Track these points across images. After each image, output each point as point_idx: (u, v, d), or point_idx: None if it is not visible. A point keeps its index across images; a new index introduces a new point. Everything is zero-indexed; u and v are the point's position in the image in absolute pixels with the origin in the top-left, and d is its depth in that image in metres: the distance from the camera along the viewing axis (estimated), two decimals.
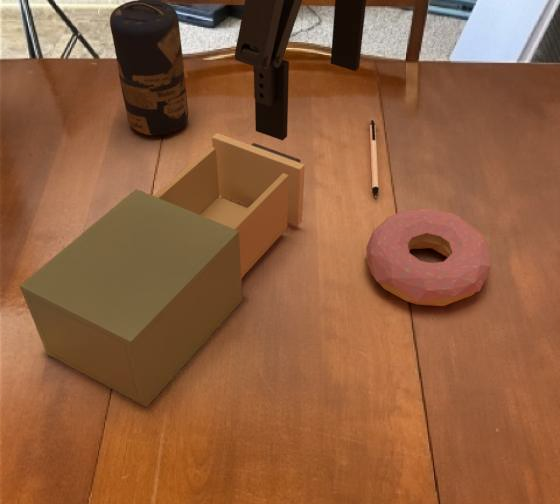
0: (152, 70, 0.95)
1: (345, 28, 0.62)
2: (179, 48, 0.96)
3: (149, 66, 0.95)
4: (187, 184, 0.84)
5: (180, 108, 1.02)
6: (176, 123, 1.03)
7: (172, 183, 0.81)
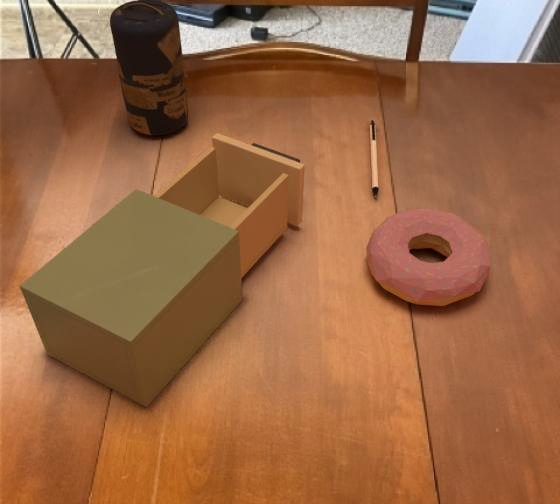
0: (152, 70, 0.95)
1: None
2: (179, 48, 0.96)
3: (149, 66, 0.95)
4: (187, 184, 0.84)
5: (180, 108, 1.02)
6: (176, 123, 1.03)
7: (172, 183, 0.81)
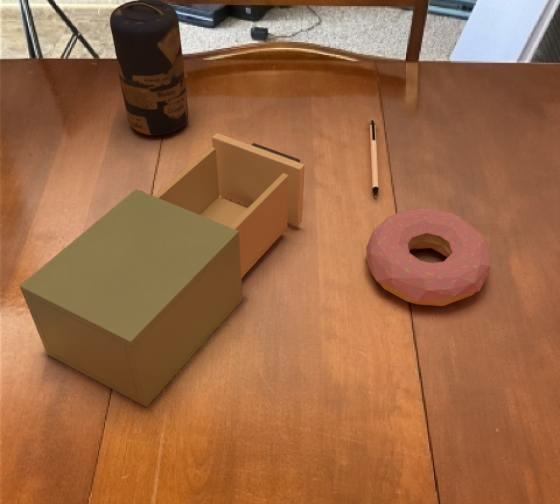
0: (152, 70, 0.95)
1: None
2: (179, 48, 0.96)
3: (149, 66, 0.95)
4: (187, 184, 0.84)
5: (180, 108, 1.02)
6: (176, 123, 1.03)
7: (172, 183, 0.81)
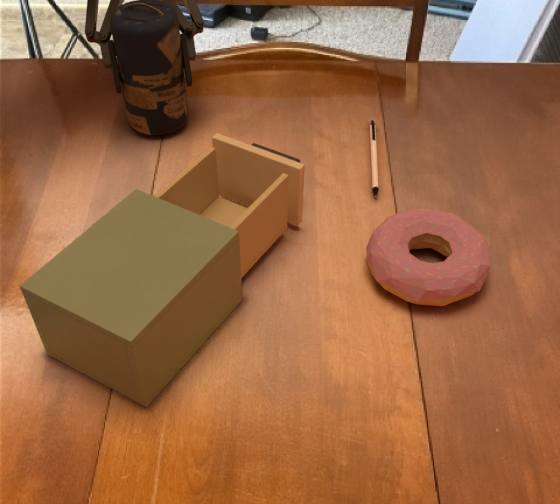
0: (152, 70, 0.95)
1: None
2: (179, 48, 0.96)
3: (149, 66, 0.95)
4: (187, 184, 0.84)
5: (180, 108, 1.02)
6: (176, 123, 1.03)
7: (172, 183, 0.81)
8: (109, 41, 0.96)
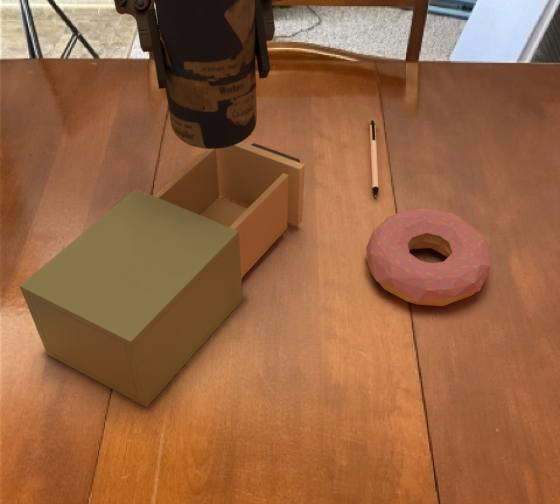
0: (213, 54, 0.64)
1: None
2: (253, 21, 0.65)
3: (210, 48, 0.63)
4: (187, 184, 0.84)
5: (249, 110, 0.71)
6: (242, 131, 0.72)
7: (172, 183, 0.81)
8: (150, 11, 0.65)
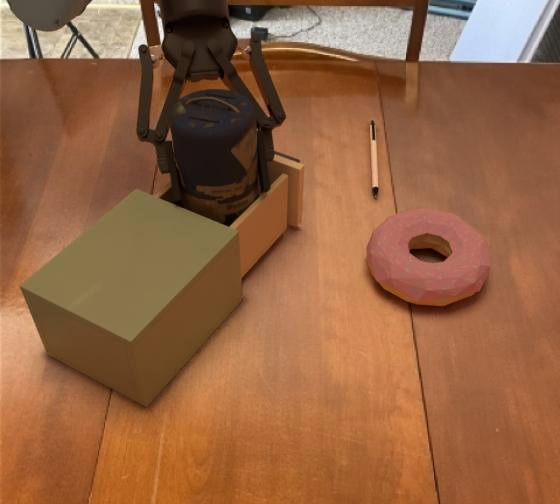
0: (222, 180, 0.75)
1: None
2: (256, 150, 0.76)
3: (219, 176, 0.74)
4: None
5: None
6: None
7: None
8: (167, 142, 0.75)
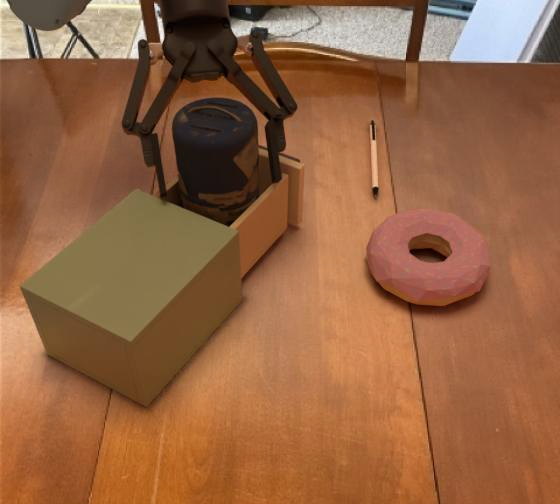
0: (224, 188, 0.75)
1: None
2: (257, 158, 0.76)
3: (221, 184, 0.75)
4: None
5: None
6: None
7: (172, 183, 0.81)
8: (153, 135, 0.75)
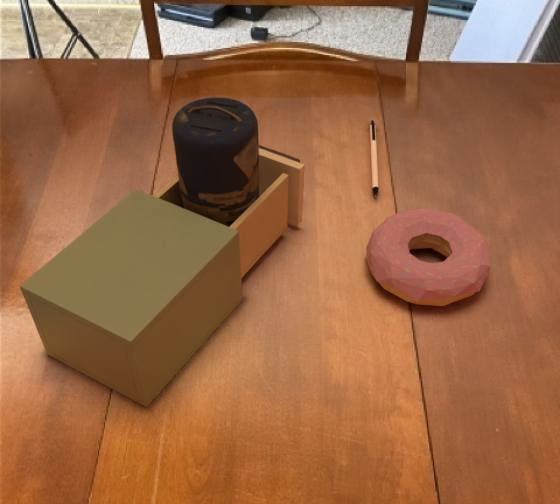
0: (224, 188, 0.75)
1: None
2: (257, 158, 0.76)
3: (221, 184, 0.75)
4: None
5: None
6: None
7: (172, 183, 0.81)
8: None
